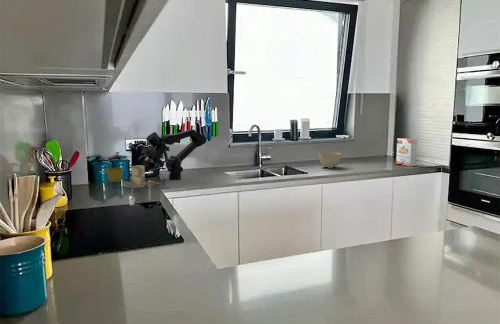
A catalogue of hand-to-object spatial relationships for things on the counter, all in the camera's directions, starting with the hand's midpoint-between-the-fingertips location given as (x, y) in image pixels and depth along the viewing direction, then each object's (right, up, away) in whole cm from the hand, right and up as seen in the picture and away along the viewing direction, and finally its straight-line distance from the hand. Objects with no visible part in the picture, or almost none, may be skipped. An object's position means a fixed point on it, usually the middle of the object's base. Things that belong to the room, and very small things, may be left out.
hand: (142, 172), depth 220 cm
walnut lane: (+1, -8, +2) cm, 8 cm away
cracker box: (+181, +3, +78) cm, 197 cm away
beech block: (-2, -7, -1) cm, 7 cm away
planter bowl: (+121, +2, +71) cm, 140 cm away
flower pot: (-20, -7, +13) cm, 25 cm away
